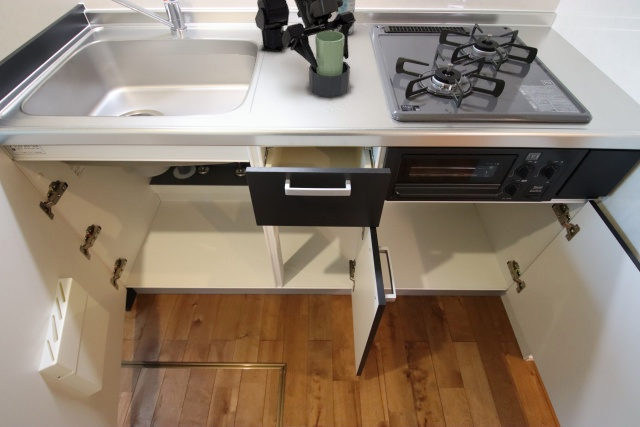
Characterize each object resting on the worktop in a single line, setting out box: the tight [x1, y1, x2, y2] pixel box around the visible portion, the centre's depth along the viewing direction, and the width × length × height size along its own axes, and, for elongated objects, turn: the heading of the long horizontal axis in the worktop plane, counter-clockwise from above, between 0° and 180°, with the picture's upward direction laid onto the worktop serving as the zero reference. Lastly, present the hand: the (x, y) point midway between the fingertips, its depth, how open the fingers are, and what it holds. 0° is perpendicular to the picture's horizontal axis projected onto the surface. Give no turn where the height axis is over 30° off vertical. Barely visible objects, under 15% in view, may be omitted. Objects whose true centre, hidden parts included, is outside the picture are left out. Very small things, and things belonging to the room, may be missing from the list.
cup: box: [314, 30, 345, 76], centre depth 85 cm, size 7×7×13 cm
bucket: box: [308, 60, 351, 99], centre depth 88 cm, size 10×10×6 cm
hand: (332, 63), depth 84 cm, fingers open, 9 cm apart
